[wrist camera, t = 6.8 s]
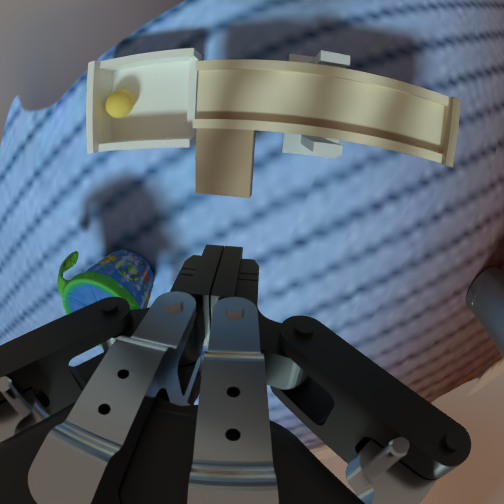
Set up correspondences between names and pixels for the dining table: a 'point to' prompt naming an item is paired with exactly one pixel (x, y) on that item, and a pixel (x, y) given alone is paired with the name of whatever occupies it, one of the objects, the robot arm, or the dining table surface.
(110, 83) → the tray
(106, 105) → the ball
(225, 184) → the lever
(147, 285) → the snack cup
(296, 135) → the stand
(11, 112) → the dining table surface
